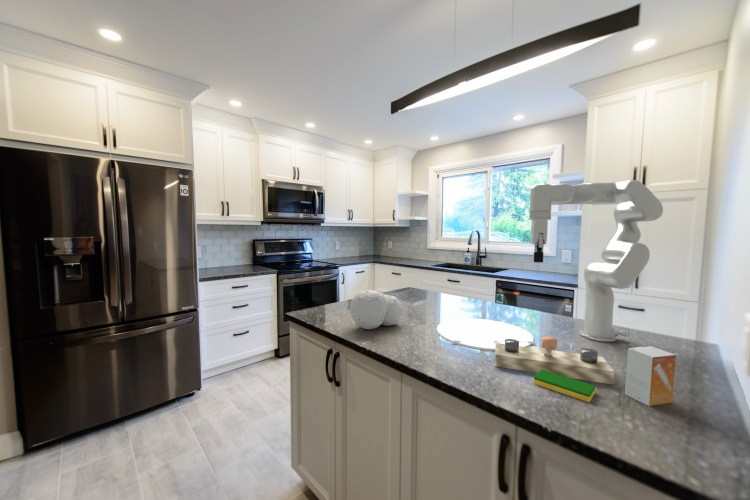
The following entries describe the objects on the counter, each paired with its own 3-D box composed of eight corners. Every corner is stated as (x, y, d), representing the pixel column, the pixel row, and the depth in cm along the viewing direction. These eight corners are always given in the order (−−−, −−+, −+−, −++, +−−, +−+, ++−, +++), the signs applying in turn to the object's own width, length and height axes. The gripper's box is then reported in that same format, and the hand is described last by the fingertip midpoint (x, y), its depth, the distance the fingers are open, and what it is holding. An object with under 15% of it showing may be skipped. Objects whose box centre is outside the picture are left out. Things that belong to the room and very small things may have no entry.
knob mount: (601, 368, 99) (602, 356, 99) (613, 384, 89) (614, 371, 89) (495, 353, 111) (495, 343, 111) (495, 366, 101) (495, 354, 101)
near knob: (594, 370, 97) (595, 349, 97) (598, 376, 93) (599, 354, 93) (578, 368, 99) (579, 347, 98) (581, 373, 95) (582, 352, 94)
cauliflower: (416, 309, 144) (391, 270, 144) (386, 341, 127) (357, 297, 126) (389, 319, 159) (366, 283, 159) (358, 349, 141) (332, 309, 141)
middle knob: (554, 357, 101) (555, 336, 101) (557, 362, 97) (558, 341, 97) (539, 355, 103) (540, 335, 102) (541, 360, 99) (542, 339, 98)
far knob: (518, 359, 105) (518, 339, 105) (518, 364, 101) (519, 344, 101) (504, 357, 107) (504, 338, 106) (504, 362, 103) (505, 342, 102)
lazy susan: (554, 353, 112) (555, 344, 112) (447, 352, 113) (448, 343, 113) (509, 321, 152) (509, 314, 152) (430, 320, 153) (430, 313, 153)
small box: (649, 407, 78) (652, 357, 77) (624, 394, 84) (626, 347, 83) (673, 403, 80) (677, 354, 79) (647, 390, 86) (649, 345, 85)
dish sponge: (541, 376, 95) (541, 369, 95) (595, 394, 85) (595, 385, 85) (532, 384, 90) (533, 376, 90) (589, 404, 80) (589, 395, 80)
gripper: (527, 217, 130) (526, 260, 131) (531, 215, 116) (529, 263, 117) (547, 216, 127) (546, 260, 128) (554, 215, 113) (552, 264, 114)
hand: (538, 262), depth 122 cm, fingers closed
